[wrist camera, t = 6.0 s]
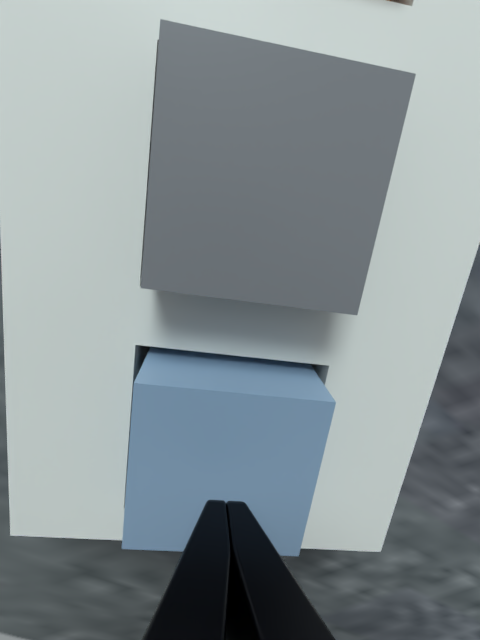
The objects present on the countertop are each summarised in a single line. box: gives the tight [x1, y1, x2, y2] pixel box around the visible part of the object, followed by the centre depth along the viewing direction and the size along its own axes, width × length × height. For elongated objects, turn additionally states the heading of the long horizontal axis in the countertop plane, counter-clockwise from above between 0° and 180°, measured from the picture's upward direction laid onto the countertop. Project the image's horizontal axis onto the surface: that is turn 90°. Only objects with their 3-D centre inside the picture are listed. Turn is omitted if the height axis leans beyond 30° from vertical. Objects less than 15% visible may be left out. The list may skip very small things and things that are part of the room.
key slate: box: [122, 347, 336, 556], centre depth 10 cm, size 5×5×3 cm
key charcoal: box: [141, 19, 416, 315], centre depth 9 cm, size 5×5×3 cm
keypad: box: [0, 0, 480, 552], centre depth 11 cm, size 22×12×4 cm, turn 172°
